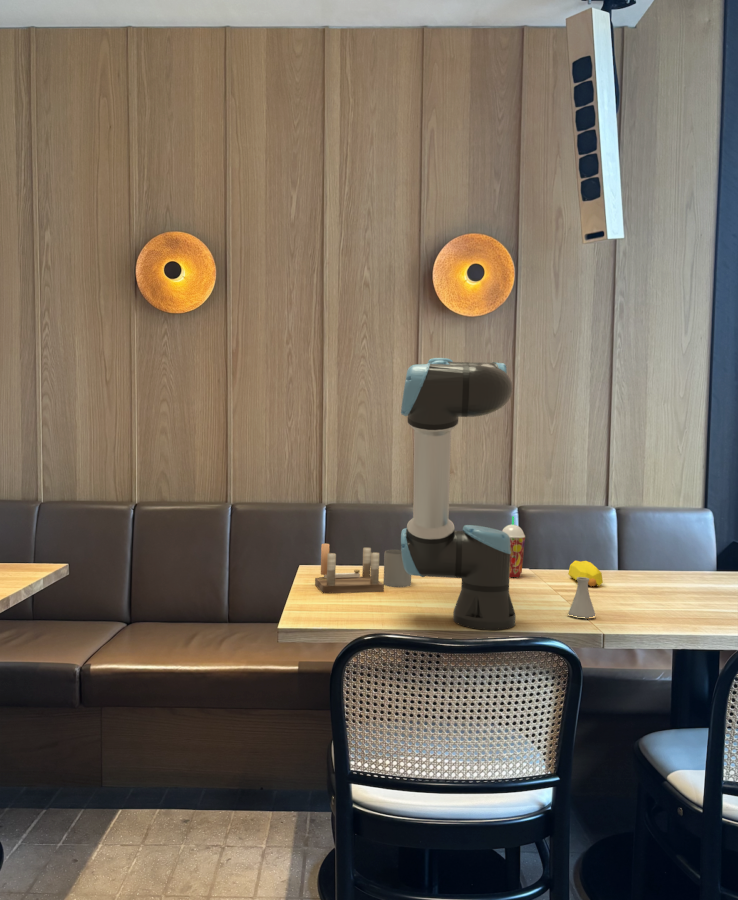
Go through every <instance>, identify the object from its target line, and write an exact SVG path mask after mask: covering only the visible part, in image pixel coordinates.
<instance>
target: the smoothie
mask: <svg viewBox="0 0 738 900" xmlns="http://www.w3.org/2000/svg"><path fill="white" fill-rule="evenodd" d="M501 531H503V532H505V533H507V534H508V535H509V537H510V551H511V554H510V575H509V577H518V578H520V577H519V576H521V575H522V572H523V563H524V562H523V561H524V555H525V554H524V552H525V551H524V550H525V544H526V543H525V542H526V541H525V540H526V535H525V533H524V531H523V529H522V528H521V527H520V526H519V525H517V524H515V516H514V515H513V516H511V524H507V525H505V526H504V527H503V529H502V530H501Z"/></svg>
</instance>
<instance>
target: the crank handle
mask: <svg viewBox="0 0 738 900" xmlns="http://www.w3.org/2000/svg"><path fill="white" fill-rule="evenodd" d="M320 548H321V549H320V551H321V552H320V554H321V555H320V575H321V576H323V577H325V578H327V557H328V553H330V543H321V547H320ZM345 577H361V573H360V572H359V573H355V572H335V578H345Z"/></svg>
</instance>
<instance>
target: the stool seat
mask: <svg viewBox="0 0 738 900" xmlns="http://www.w3.org/2000/svg"><path fill="white" fill-rule="evenodd" d="M336 563H337V554H336V553H334V552H329V553H328V557H327V578H325V577H324V576H319V577H315V579H314V585H315V586H316V587H317V588H318V589H319V591H320V590H321V591H322V592H323V593H322V592H321V591H320V592H321V593H322V594H346V593H349V594H351V593H353V594H354V593H376V592H377V593H378V592H379V593H380V592H381V593H382V592H384V591H385V585H384V583H382V582H381V581H380V578H379V577H380V576H379V575H380V570H379V569H380V552H375V551H373V552H372V548H371V547H363V548H362V572H361V571H360V569H354V570H353V571H354V572H353V573H359V574H360V572H361V573H362V576H360V577H345V578H335V573H336V566H337V565H336Z"/></svg>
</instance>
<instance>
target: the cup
mask: <svg viewBox="0 0 738 900" xmlns="http://www.w3.org/2000/svg"><path fill="white" fill-rule="evenodd" d="M383 560H384V562H383V584H384V586H386V587H390V588H407V587H408V588H409V587H411V586H412V575H409V574H408V573H407V572H406V571H405V569H404V566H403V561H402V553H401V549H387V550H386V549H385V551H384V556H383Z"/></svg>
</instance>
